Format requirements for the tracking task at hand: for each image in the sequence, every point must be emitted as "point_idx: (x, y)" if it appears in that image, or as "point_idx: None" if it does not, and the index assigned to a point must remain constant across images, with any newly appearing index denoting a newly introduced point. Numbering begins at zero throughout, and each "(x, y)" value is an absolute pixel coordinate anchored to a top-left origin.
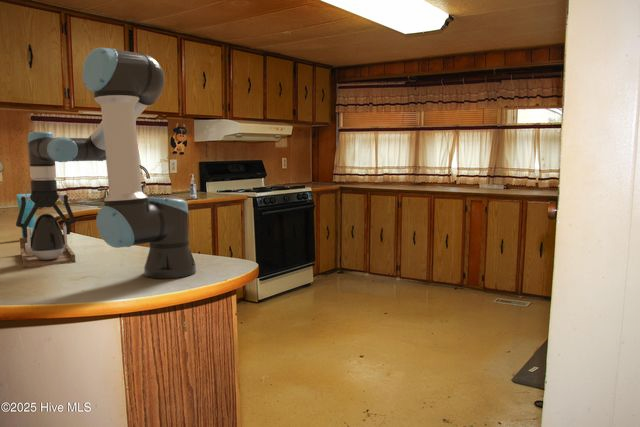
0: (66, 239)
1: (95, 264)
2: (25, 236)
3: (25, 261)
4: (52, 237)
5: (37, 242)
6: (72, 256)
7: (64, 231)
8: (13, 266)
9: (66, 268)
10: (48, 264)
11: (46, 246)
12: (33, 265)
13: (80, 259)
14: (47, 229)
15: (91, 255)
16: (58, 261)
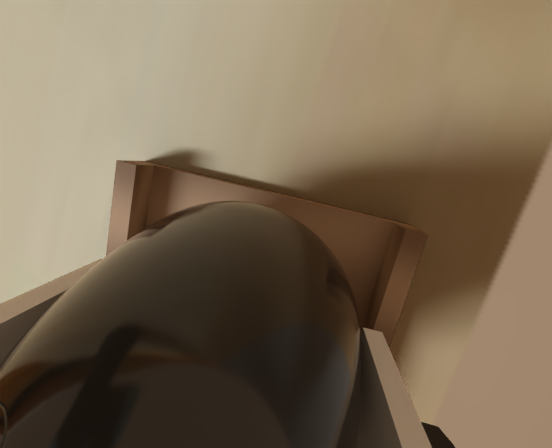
0: (71, 276)
1: (70, 3)
2: (429, 435)
3: (412, 229)
4: (187, 231)
5: (334, 281)
6: (137, 163)
7: (5, 318)
8: (440, 297)
9: (235, 7)
10: (282, 194)
11: (273, 214)
12: (361, 213)
13: (104, 217)
14: (190, 309)
15: (33, 279)
16: (226, 183)
